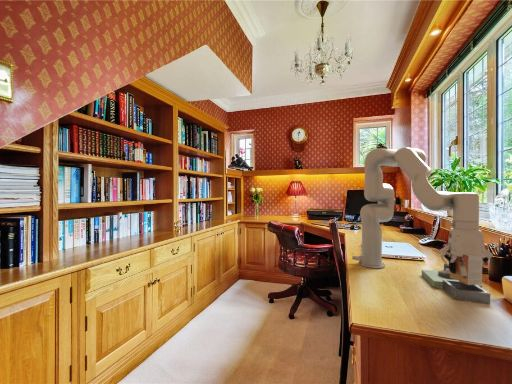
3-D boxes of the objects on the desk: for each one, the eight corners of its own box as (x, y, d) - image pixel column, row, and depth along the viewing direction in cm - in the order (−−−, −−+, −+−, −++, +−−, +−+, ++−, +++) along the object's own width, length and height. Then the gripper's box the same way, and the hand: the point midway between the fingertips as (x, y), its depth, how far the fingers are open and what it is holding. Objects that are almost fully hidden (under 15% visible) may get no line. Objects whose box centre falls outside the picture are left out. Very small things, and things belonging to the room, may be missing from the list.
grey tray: (455, 300, 93) (455, 290, 93) (442, 288, 104) (442, 279, 104) (490, 303, 90) (490, 293, 90) (472, 291, 102) (472, 282, 102)
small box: (449, 277, 101) (449, 250, 101) (463, 277, 101) (463, 250, 101) (467, 285, 93) (468, 255, 93) (482, 284, 93) (482, 255, 93)
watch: (462, 275, 122) (463, 251, 121) (441, 272, 125) (442, 249, 125) (459, 271, 127) (460, 248, 127) (439, 269, 130) (439, 247, 130)
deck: (433, 287, 105) (434, 273, 105) (421, 275, 121) (421, 263, 121) (482, 292, 101) (482, 277, 101) (462, 278, 116) (463, 266, 116)
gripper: (442, 225, 96) (441, 274, 96) (500, 228, 91) (500, 279, 91) (434, 223, 103) (434, 268, 103) (488, 225, 98) (488, 273, 98)
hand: (465, 273), depth 97 cm, fingers closed on small box, 7 cm apart
